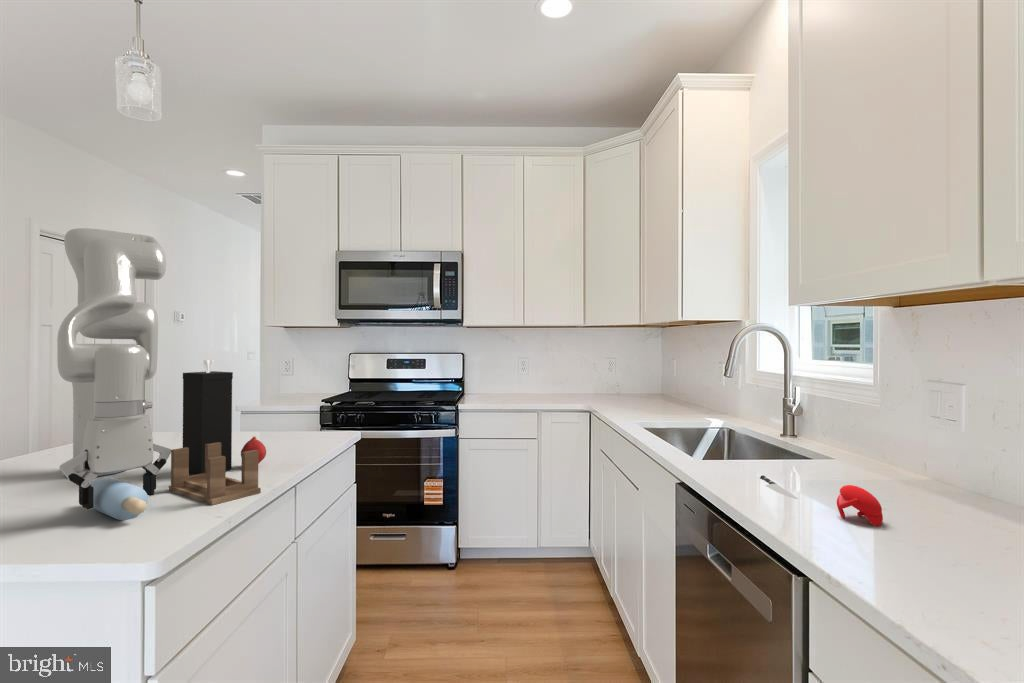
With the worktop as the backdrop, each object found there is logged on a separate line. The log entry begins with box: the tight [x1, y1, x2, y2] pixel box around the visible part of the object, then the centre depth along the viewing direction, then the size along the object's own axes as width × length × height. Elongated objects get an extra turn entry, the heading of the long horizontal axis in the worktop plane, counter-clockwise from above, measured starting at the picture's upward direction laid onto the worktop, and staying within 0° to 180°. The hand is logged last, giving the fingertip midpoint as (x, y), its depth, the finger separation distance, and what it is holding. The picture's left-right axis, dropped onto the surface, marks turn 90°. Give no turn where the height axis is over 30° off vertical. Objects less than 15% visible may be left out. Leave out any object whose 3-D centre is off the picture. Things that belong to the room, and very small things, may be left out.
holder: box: [168, 442, 262, 506], centre depth 110 cm, size 18×10×9 cm, turn 57°
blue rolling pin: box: [91, 477, 149, 521], centre depth 96 cm, size 19×6×6 cm, turn 57°
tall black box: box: [182, 358, 234, 476], centre depth 127 cm, size 8×8×28 cm
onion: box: [240, 435, 267, 465], centre depth 132 cm, size 6×6×8 cm
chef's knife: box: [759, 475, 799, 500], centre depth 115 cm, size 19×1×3 cm
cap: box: [836, 484, 884, 527], centre depth 95 cm, size 8×6×6 cm
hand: (119, 500), depth 96 cm, fingers open, 9 cm apart
